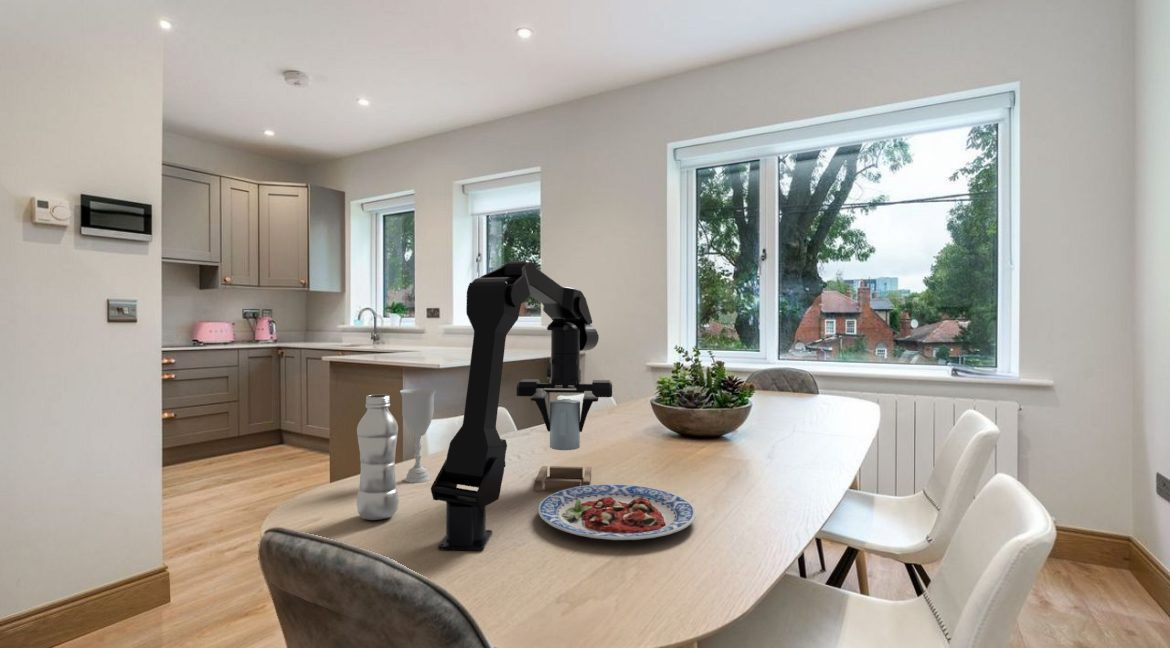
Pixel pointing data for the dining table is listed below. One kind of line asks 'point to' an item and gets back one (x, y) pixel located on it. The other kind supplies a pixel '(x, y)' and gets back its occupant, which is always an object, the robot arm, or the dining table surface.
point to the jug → (565, 424)
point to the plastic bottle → (377, 460)
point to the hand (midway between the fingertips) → (564, 431)
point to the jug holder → (561, 473)
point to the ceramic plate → (617, 511)
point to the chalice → (417, 425)
